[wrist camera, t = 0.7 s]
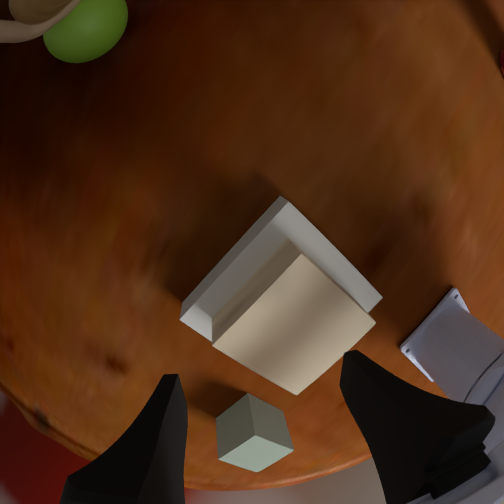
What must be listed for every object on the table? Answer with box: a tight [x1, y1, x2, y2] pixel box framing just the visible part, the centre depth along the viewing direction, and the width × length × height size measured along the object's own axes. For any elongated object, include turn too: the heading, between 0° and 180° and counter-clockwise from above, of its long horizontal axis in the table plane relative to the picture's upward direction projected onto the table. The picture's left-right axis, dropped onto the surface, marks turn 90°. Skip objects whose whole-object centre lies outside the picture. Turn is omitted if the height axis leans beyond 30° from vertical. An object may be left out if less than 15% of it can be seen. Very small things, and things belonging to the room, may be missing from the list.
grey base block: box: [180, 196, 383, 342], centre depth 21 cm, size 10×10×3 cm
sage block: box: [216, 393, 294, 472], centre depth 23 cm, size 4×4×5 cm
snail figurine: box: [0, 0, 128, 63], centre depth 9 cm, size 5×6×12 cm
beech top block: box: [212, 238, 376, 395], centre depth 18 cm, size 7×7×3 cm
